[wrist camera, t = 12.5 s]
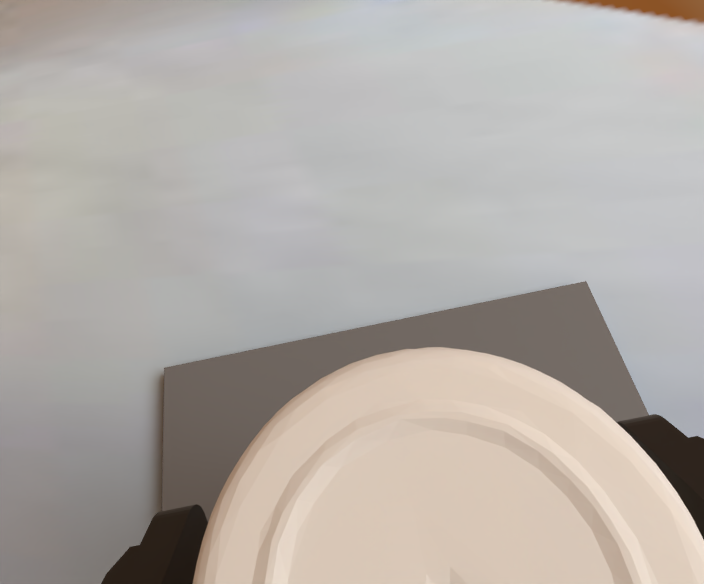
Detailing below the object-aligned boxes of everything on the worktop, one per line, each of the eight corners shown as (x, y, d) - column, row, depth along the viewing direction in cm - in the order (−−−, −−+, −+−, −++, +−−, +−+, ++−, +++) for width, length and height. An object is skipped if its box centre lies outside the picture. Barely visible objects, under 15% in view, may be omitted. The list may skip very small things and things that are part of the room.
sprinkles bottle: (445, 662, 14) (638, 1415, 2) (325, 564, 16) (50, 686, 4) (513, 523, 16) (851, 516, 4) (396, 446, 17) (365, 260, 5)
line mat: (164, 926, 13) (152, 946, 12) (170, 372, 20) (163, 367, 19) (820, 809, 12) (842, 824, 12) (581, 288, 20) (586, 280, 19)
